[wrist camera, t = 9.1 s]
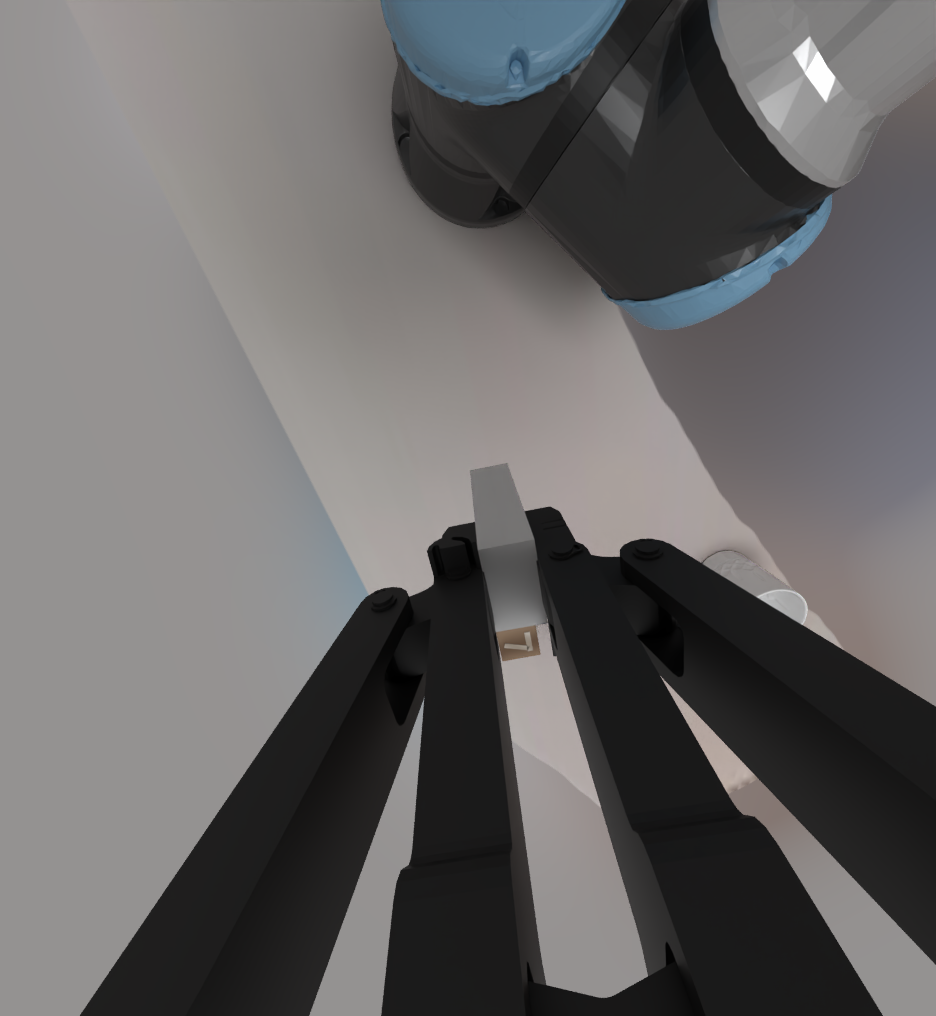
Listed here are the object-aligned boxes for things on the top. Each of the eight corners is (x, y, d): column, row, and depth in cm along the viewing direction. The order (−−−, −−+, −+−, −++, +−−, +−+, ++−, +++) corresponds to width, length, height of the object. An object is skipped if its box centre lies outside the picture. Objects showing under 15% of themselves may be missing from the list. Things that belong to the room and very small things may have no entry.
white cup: (704, 606, 60) (749, 657, 51) (682, 565, 57) (726, 612, 48) (759, 578, 58) (816, 626, 49) (739, 535, 56) (795, 577, 46)
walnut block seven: (492, 607, 59) (496, 631, 54) (529, 600, 59) (535, 624, 54) (499, 635, 61) (502, 661, 56) (534, 629, 61) (540, 655, 56)
